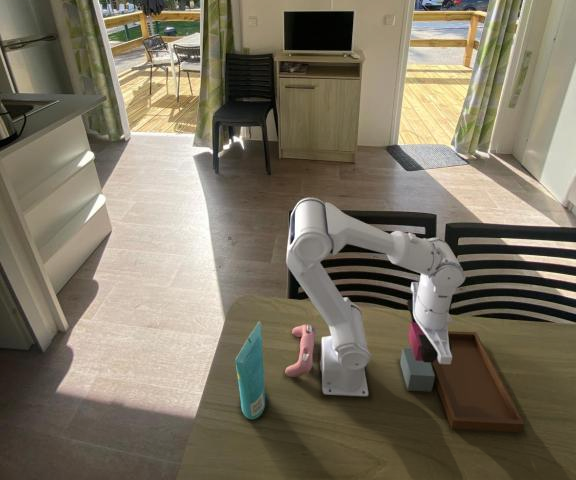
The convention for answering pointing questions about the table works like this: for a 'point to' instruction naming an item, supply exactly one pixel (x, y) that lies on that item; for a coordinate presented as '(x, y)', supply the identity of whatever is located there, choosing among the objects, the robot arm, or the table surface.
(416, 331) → the plum block
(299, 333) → the video game controller
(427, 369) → the grey block
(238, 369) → the tube
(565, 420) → the table surface
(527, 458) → the table surface
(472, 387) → the tray
